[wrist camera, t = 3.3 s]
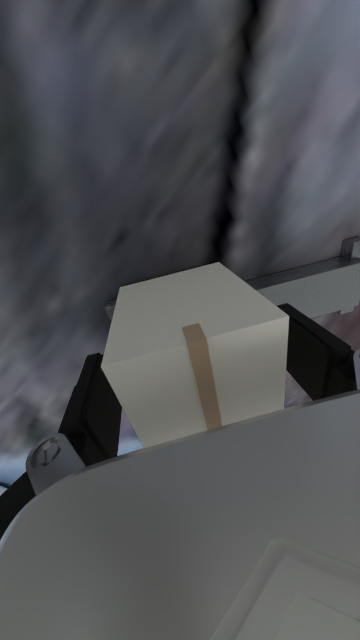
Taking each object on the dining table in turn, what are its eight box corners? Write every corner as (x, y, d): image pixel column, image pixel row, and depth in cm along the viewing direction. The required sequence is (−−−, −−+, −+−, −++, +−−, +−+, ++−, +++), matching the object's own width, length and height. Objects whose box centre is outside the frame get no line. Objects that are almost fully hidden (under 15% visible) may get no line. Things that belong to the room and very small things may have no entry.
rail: (106, 301, 13) (102, 313, 12) (358, 236, 14) (383, 240, 12) (132, 363, 15) (131, 379, 14) (344, 306, 16) (363, 316, 15)
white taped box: (119, 286, 12) (99, 367, 6) (218, 260, 13) (291, 316, 7) (150, 368, 16) (156, 473, 10) (228, 346, 16) (283, 436, 10)
